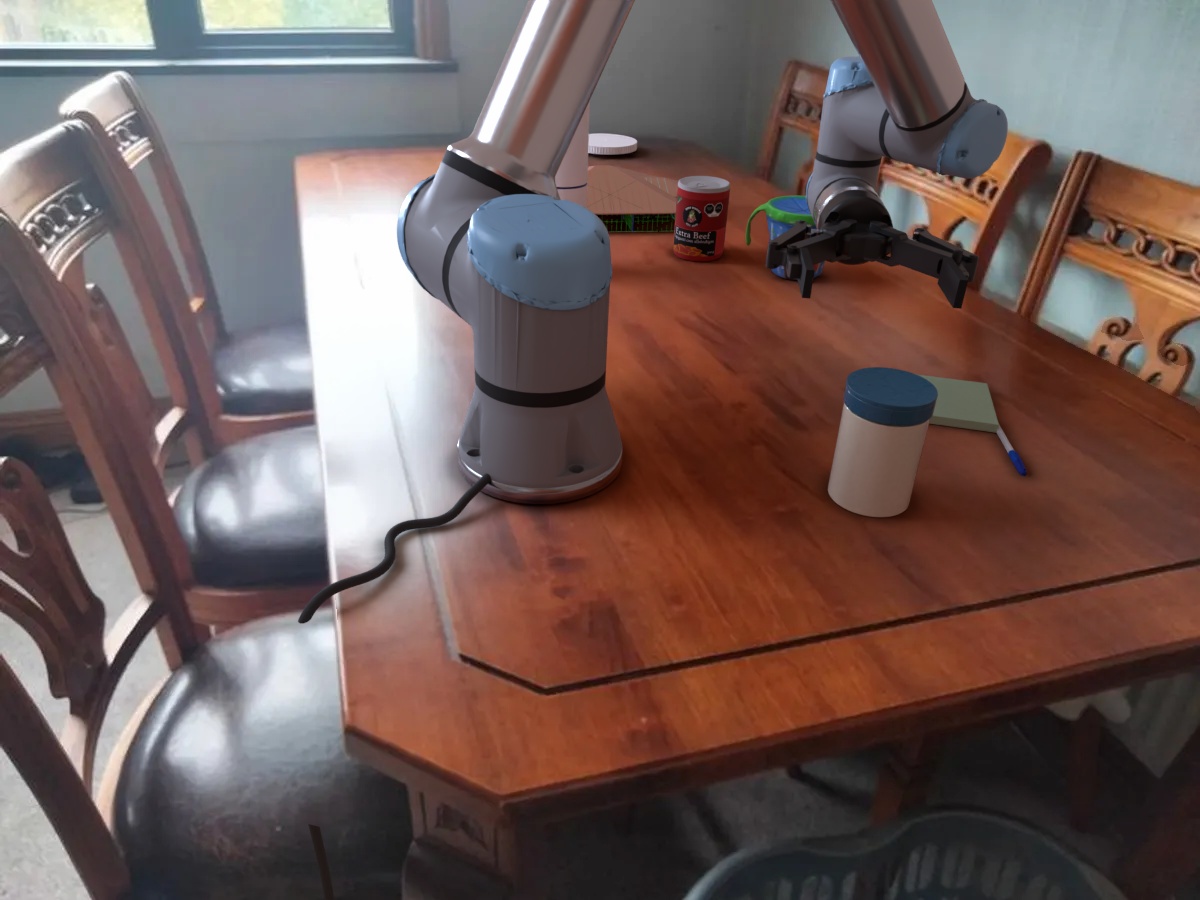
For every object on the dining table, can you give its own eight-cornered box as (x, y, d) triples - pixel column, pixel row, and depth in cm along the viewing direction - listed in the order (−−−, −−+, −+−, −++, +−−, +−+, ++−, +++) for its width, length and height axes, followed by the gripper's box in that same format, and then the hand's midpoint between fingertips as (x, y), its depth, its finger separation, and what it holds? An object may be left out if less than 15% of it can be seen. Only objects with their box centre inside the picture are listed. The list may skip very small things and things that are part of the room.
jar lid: (936, 432, 74) (941, 412, 73) (842, 418, 75) (846, 399, 74) (930, 392, 80) (934, 373, 79) (843, 380, 81) (847, 362, 80)
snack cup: (733, 275, 132) (741, 205, 127) (752, 254, 140) (761, 188, 135) (840, 294, 127) (853, 222, 122) (854, 271, 135) (867, 203, 130)
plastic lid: (608, 142, 207) (609, 131, 206) (649, 154, 198) (650, 142, 197) (559, 149, 199) (560, 137, 198) (600, 162, 190) (600, 150, 189)
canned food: (664, 256, 138) (669, 183, 133) (685, 243, 144) (690, 172, 139) (711, 265, 135) (718, 191, 130) (730, 251, 141) (738, 180, 136)
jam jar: (911, 523, 78) (938, 416, 73) (826, 510, 80) (846, 404, 74) (907, 480, 84) (932, 379, 79) (828, 468, 86) (847, 368, 80)
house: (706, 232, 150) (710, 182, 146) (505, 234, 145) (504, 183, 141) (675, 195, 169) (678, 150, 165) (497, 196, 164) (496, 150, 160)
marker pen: (1029, 478, 86) (1032, 469, 85) (1019, 477, 86) (1022, 468, 86) (995, 425, 95) (998, 416, 95) (987, 424, 95) (989, 416, 95)
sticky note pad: (996, 433, 93) (999, 424, 93) (896, 419, 95) (897, 410, 94) (985, 391, 101) (987, 383, 101) (892, 379, 103) (894, 371, 103)
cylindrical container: (578, 280, 128) (583, 92, 115) (529, 275, 129) (529, 88, 116) (589, 264, 134) (595, 83, 121) (542, 259, 135) (543, 80, 122)
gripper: (959, 262, 102) (1014, 337, 83) (735, 248, 103) (741, 318, 85) (975, 195, 98) (1036, 258, 80) (742, 181, 100) (750, 240, 81)
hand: (884, 289), depth 82 cm, fingers open, 13 cm apart
